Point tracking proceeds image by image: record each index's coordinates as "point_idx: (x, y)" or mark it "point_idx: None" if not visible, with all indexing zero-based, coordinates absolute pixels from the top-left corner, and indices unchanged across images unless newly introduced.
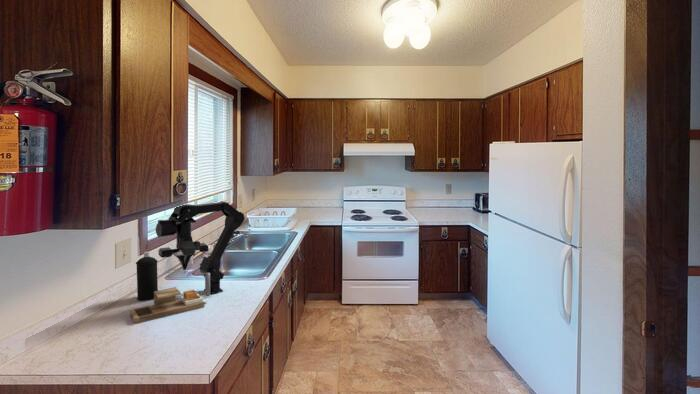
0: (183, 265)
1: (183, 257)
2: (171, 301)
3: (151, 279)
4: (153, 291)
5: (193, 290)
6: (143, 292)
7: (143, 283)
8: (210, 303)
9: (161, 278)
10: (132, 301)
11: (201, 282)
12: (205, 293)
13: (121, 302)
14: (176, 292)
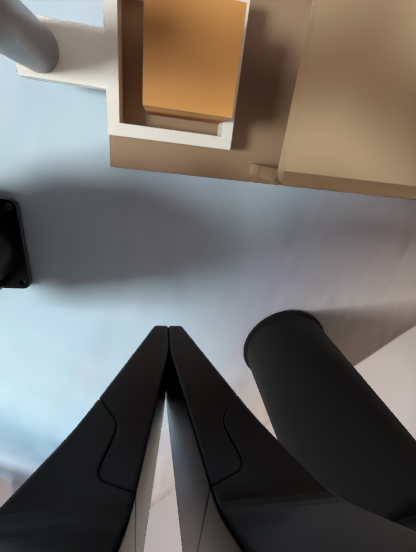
0: (196, 363)
1: (283, 547)
2: (277, 166)
3: (339, 389)
4: (292, 337)
5: (152, 73)
6: (333, 344)
7: (363, 379)
8: (47, 13)
9: (161, 488)
10: (340, 337)
11: (19, 394)
12: (49, 41)
13: (367, 348)
14: (352, 12)
